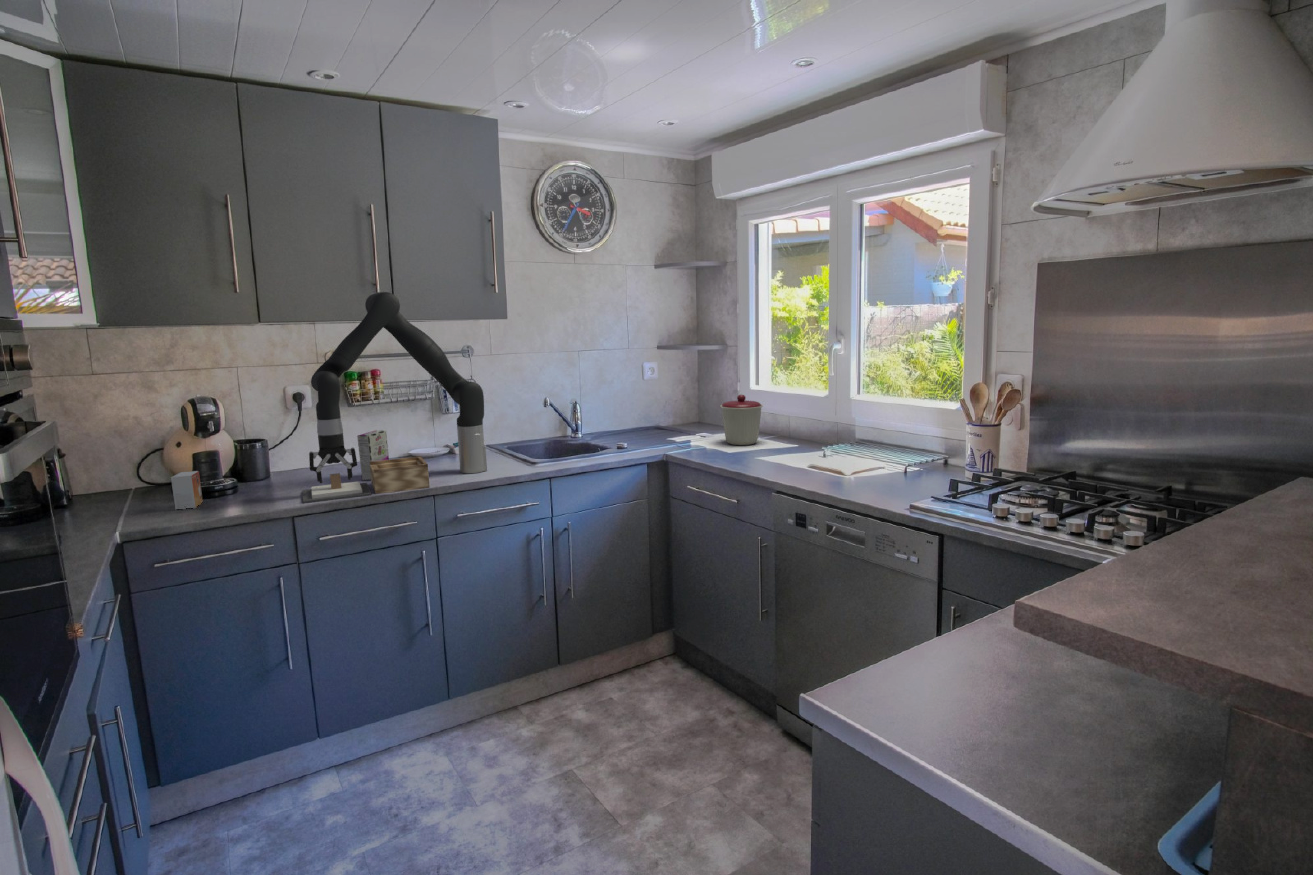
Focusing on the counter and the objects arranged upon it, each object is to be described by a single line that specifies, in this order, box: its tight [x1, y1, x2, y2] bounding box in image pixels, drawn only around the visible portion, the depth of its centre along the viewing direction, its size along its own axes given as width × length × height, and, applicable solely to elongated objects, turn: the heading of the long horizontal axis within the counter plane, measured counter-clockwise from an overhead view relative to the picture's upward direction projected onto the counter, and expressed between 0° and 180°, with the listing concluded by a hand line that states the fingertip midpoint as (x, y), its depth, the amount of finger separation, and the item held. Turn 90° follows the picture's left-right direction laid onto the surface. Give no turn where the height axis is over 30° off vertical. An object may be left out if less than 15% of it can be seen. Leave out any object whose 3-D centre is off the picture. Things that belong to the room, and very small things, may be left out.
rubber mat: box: [302, 482, 372, 504], centre depth 240 cm, size 20×18×1 cm
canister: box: [719, 394, 764, 446], centre depth 311 cm, size 18×18×21 cm
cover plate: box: [310, 472, 362, 499], centre depth 240 cm, size 15×13×6 cm
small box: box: [170, 470, 204, 510], centre depth 227 cm, size 8×6×10 cm
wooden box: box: [370, 456, 431, 495], centre depth 248 cm, size 17×16×8 cm
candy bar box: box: [356, 429, 390, 481], centre depth 263 cm, size 11×5×16 cm, turn 168°
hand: (335, 481), depth 240 cm, fingers open, 8 cm apart
